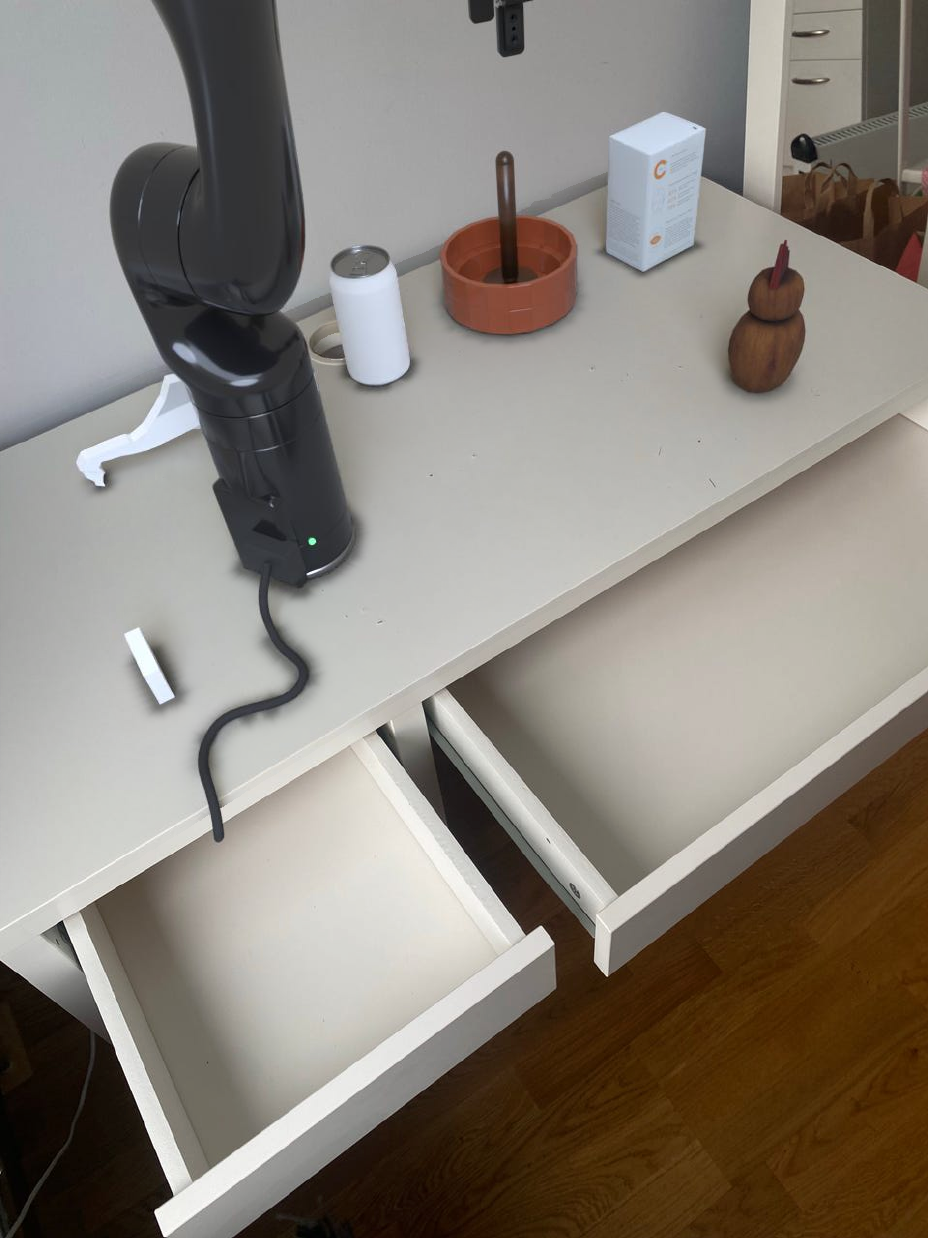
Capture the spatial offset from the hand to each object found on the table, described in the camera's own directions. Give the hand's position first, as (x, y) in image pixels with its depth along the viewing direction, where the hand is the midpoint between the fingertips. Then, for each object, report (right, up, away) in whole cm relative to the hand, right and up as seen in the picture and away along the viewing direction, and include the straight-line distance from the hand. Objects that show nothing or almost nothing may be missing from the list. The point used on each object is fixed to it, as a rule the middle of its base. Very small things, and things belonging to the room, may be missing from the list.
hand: (496, 37), depth 83 cm
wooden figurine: (+26, -28, +8) cm, 39 cm away
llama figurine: (-30, -34, +9) cm, 46 cm away
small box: (+18, -9, +25) cm, 32 cm away
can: (-11, -25, +14) cm, 31 cm away
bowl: (+2, -16, +20) cm, 26 cm away
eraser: (-27, -56, -9) cm, 63 cm away
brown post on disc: (+2, -16, +20) cm, 25 cm away
